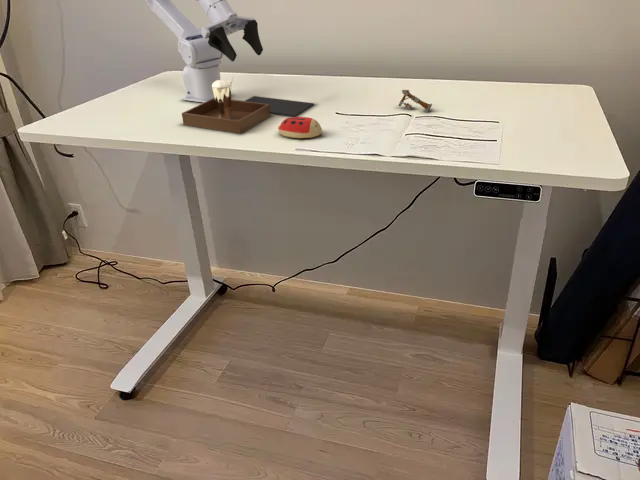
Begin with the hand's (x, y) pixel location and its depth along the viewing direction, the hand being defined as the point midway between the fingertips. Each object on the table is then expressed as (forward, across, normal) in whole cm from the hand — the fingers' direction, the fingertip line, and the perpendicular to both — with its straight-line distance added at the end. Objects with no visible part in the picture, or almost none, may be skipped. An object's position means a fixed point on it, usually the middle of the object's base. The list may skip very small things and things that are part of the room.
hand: (247, 55), depth 131 cm
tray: (+9, -7, +11) cm, 16 cm away
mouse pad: (+9, +7, +11) cm, 16 cm away
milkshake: (+8, -7, +11) cm, 16 cm away
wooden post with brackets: (+30, +28, -8) cm, 42 cm away
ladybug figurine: (+24, -2, -2) cm, 24 cm away
